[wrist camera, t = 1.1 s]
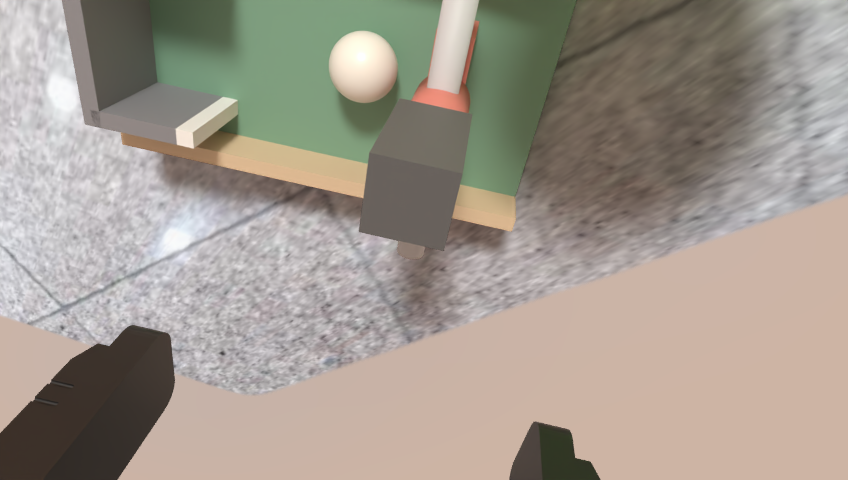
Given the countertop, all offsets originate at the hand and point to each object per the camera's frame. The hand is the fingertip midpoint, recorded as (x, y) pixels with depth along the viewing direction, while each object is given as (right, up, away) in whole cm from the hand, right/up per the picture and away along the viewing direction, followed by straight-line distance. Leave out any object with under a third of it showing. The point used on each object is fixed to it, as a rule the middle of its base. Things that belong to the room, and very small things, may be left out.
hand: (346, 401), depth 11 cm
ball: (-2, +14, +19) cm, 24 cm away
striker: (+3, +13, +21) cm, 25 cm away
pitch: (-3, +16, +22) cm, 27 cm away
